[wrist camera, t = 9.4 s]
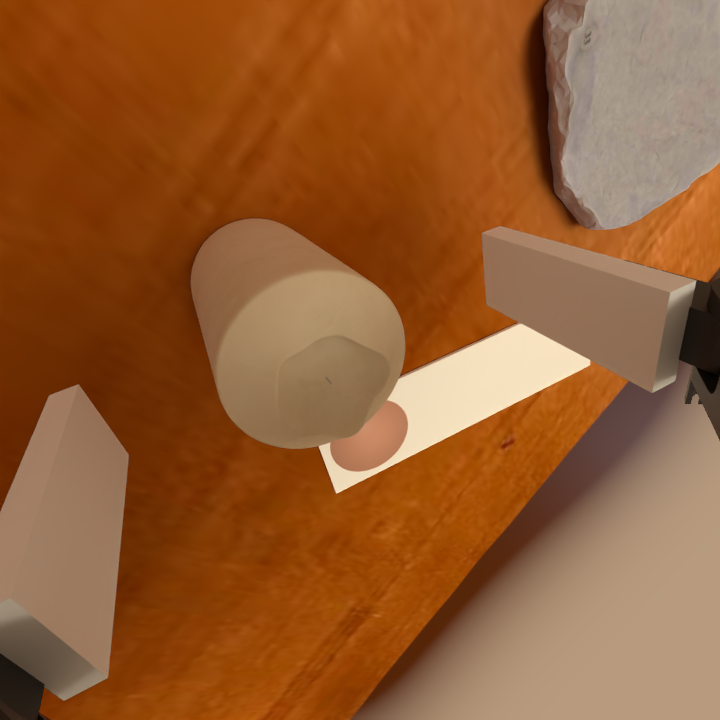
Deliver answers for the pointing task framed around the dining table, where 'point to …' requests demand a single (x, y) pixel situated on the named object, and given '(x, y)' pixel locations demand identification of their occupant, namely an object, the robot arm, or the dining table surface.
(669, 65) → the stone block
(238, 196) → the dining table surface
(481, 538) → the dining table surface
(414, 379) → the test strip
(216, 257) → the candle
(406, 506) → the dining table surface
